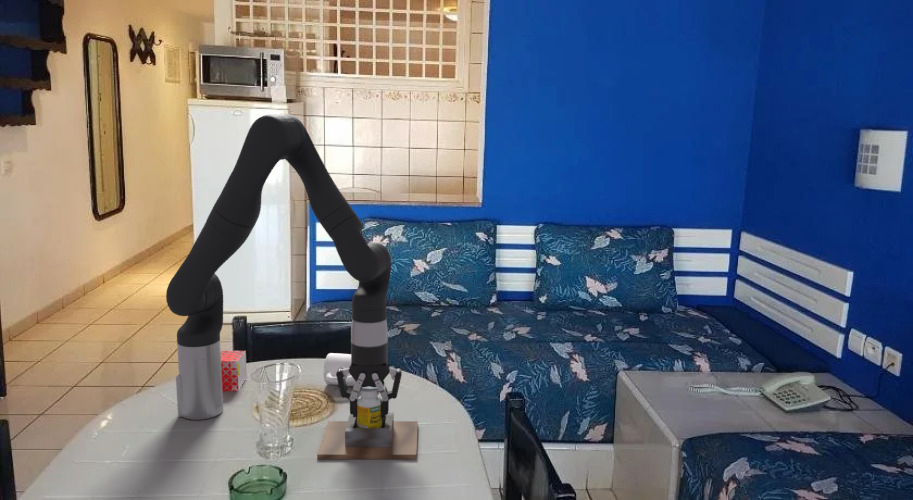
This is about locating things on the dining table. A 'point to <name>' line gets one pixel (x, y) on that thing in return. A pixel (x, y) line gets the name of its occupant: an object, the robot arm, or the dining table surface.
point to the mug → (332, 366)
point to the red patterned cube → (233, 369)
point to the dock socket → (369, 440)
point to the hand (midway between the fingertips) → (369, 415)
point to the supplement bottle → (369, 408)
